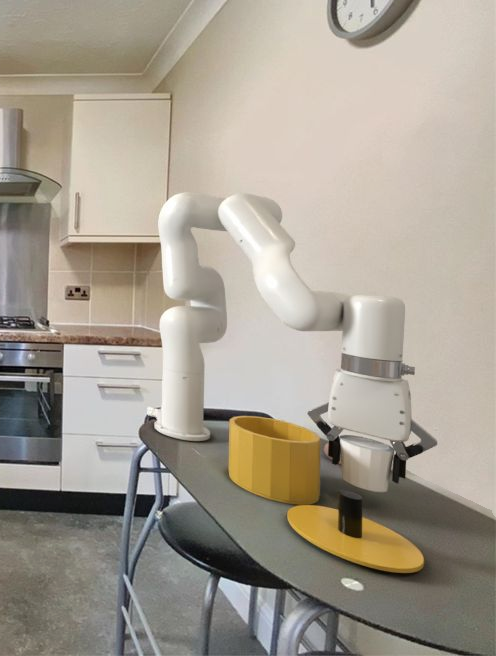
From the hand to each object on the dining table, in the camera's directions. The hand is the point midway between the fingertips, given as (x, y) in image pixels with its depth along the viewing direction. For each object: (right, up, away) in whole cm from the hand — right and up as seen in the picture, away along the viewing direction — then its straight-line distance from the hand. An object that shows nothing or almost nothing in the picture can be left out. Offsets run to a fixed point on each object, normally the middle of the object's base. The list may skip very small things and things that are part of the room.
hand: (364, 470), depth 68 cm
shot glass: (0, -2, 0) cm, 2 cm away
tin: (-11, -6, +6) cm, 14 cm away
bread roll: (+13, -7, +17) cm, 23 cm away
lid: (-12, -5, -10) cm, 16 cm away
